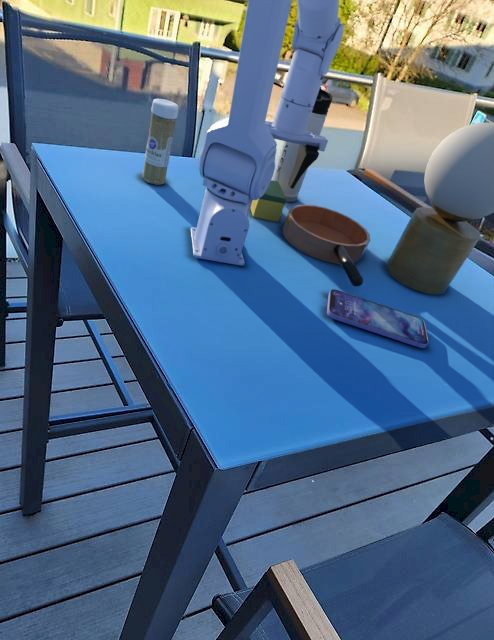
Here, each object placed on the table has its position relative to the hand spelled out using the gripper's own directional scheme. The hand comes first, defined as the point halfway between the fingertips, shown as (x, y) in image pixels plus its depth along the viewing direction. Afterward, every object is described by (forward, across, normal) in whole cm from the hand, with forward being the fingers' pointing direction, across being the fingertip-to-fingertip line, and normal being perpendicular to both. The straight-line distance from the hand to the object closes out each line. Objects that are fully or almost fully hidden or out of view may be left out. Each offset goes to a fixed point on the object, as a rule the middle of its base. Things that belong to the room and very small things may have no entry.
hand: (271, 182), depth 90 cm
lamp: (+6, -27, +14) cm, 31 cm away
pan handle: (+4, -10, +21) cm, 24 cm away
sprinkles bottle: (+6, +21, -4) cm, 22 cm away
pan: (+6, -10, +9) cm, 15 cm away
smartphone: (+6, -12, +33) cm, 36 cm away
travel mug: (+6, -6, -10) cm, 13 cm away
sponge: (+6, 0, 0) cm, 6 cm away
